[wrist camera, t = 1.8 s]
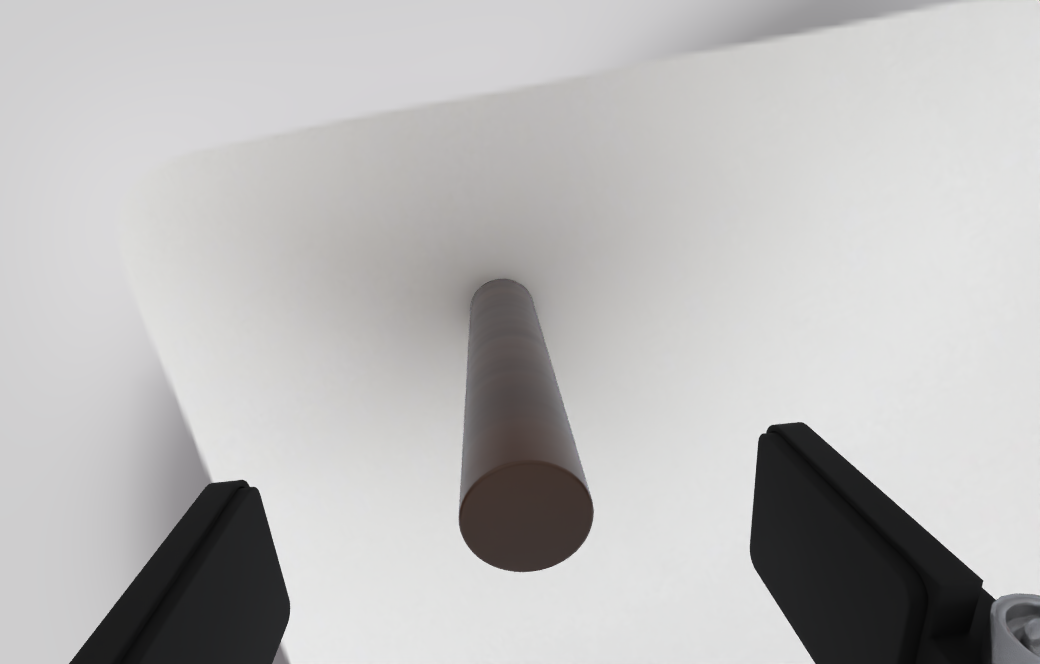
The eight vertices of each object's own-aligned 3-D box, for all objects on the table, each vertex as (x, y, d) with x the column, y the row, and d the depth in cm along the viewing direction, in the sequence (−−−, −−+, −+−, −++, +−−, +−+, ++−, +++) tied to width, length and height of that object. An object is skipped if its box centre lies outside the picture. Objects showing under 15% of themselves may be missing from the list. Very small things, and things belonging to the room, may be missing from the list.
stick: (467, 281, 21) (450, 469, 9) (531, 275, 21) (592, 454, 9) (473, 341, 21) (466, 580, 10) (535, 336, 22) (595, 566, 10)
